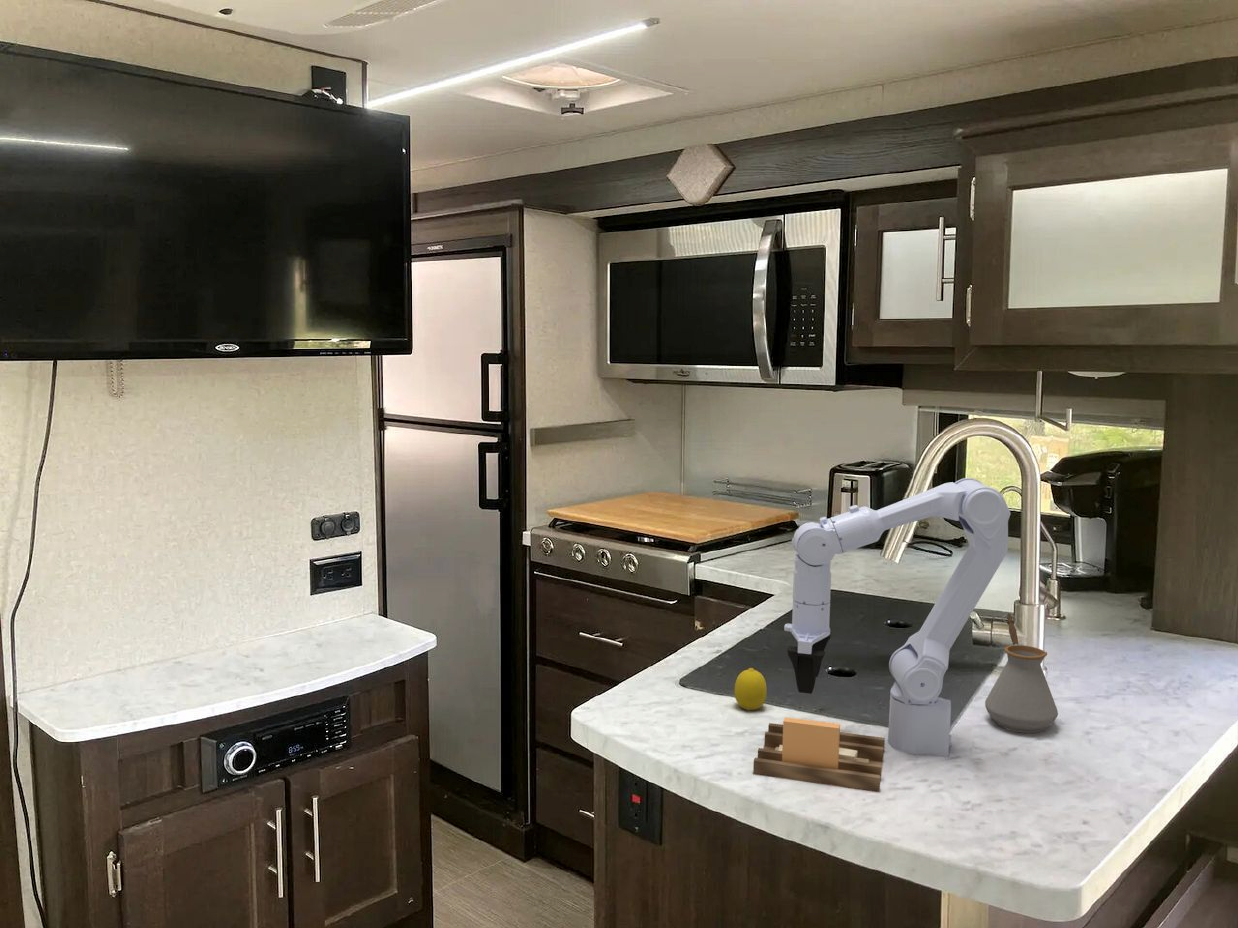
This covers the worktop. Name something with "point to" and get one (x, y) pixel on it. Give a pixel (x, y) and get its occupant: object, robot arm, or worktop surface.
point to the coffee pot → (1022, 690)
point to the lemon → (750, 689)
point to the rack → (844, 776)
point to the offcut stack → (842, 754)
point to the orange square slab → (811, 743)
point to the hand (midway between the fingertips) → (808, 683)
